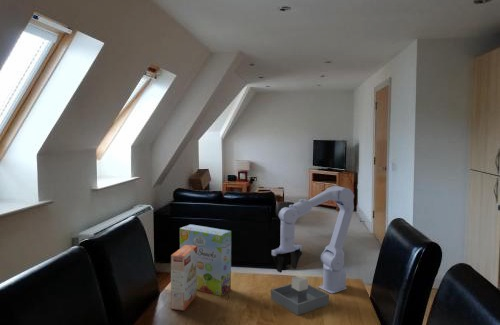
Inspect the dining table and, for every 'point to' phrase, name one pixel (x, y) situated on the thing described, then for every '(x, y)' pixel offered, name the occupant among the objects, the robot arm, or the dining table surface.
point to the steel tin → (298, 295)
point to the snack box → (210, 257)
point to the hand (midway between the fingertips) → (286, 269)
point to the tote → (313, 302)
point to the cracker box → (183, 277)
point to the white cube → (299, 283)
